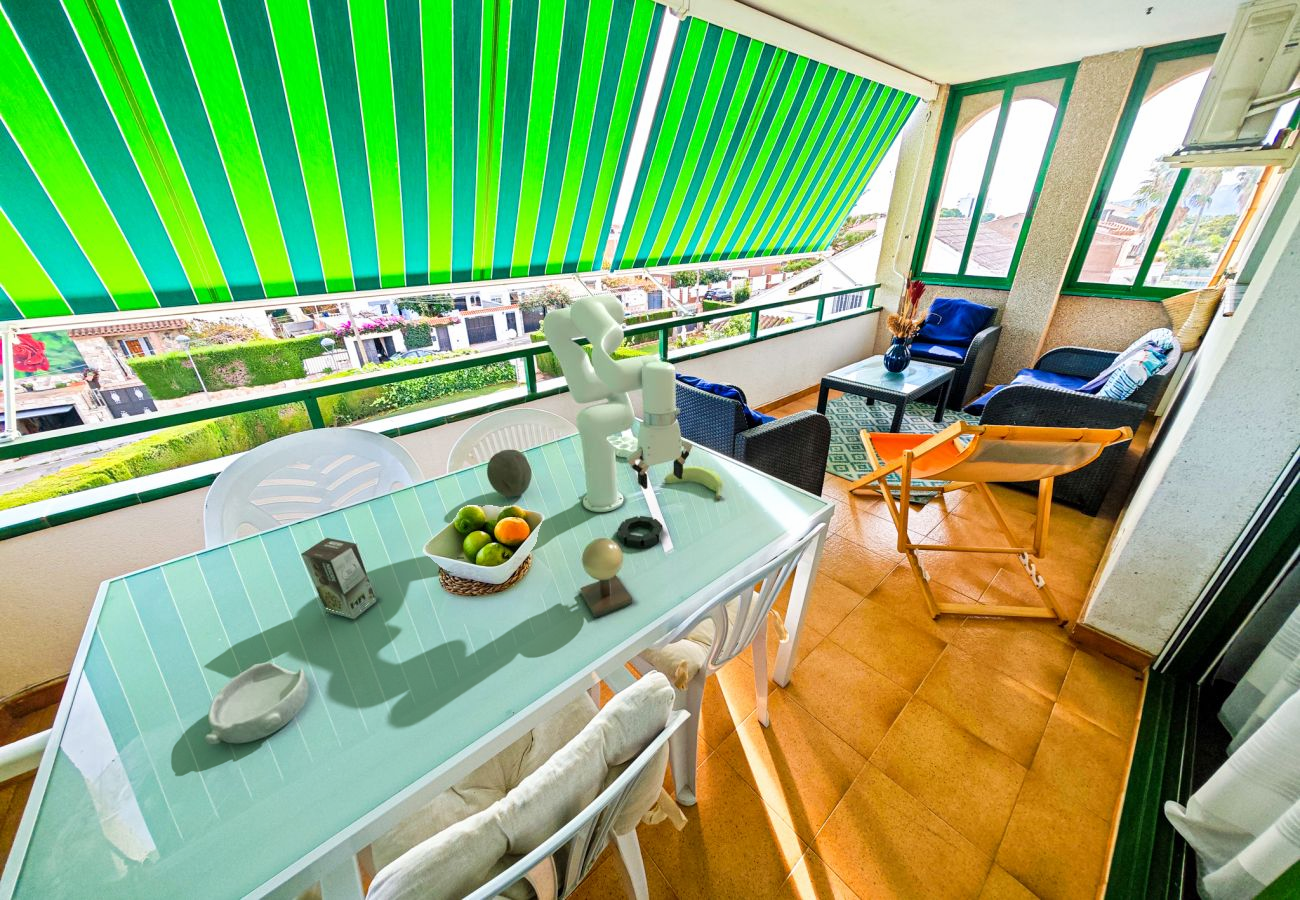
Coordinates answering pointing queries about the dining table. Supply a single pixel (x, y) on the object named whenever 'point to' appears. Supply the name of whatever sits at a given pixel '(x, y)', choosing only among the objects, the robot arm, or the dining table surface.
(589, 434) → the robot arm
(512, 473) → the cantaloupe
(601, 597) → the ball stand
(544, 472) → the dining table surface
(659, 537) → the ring
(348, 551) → the coffee box
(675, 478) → the banana
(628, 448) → the white disc with holes
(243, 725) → the dish
